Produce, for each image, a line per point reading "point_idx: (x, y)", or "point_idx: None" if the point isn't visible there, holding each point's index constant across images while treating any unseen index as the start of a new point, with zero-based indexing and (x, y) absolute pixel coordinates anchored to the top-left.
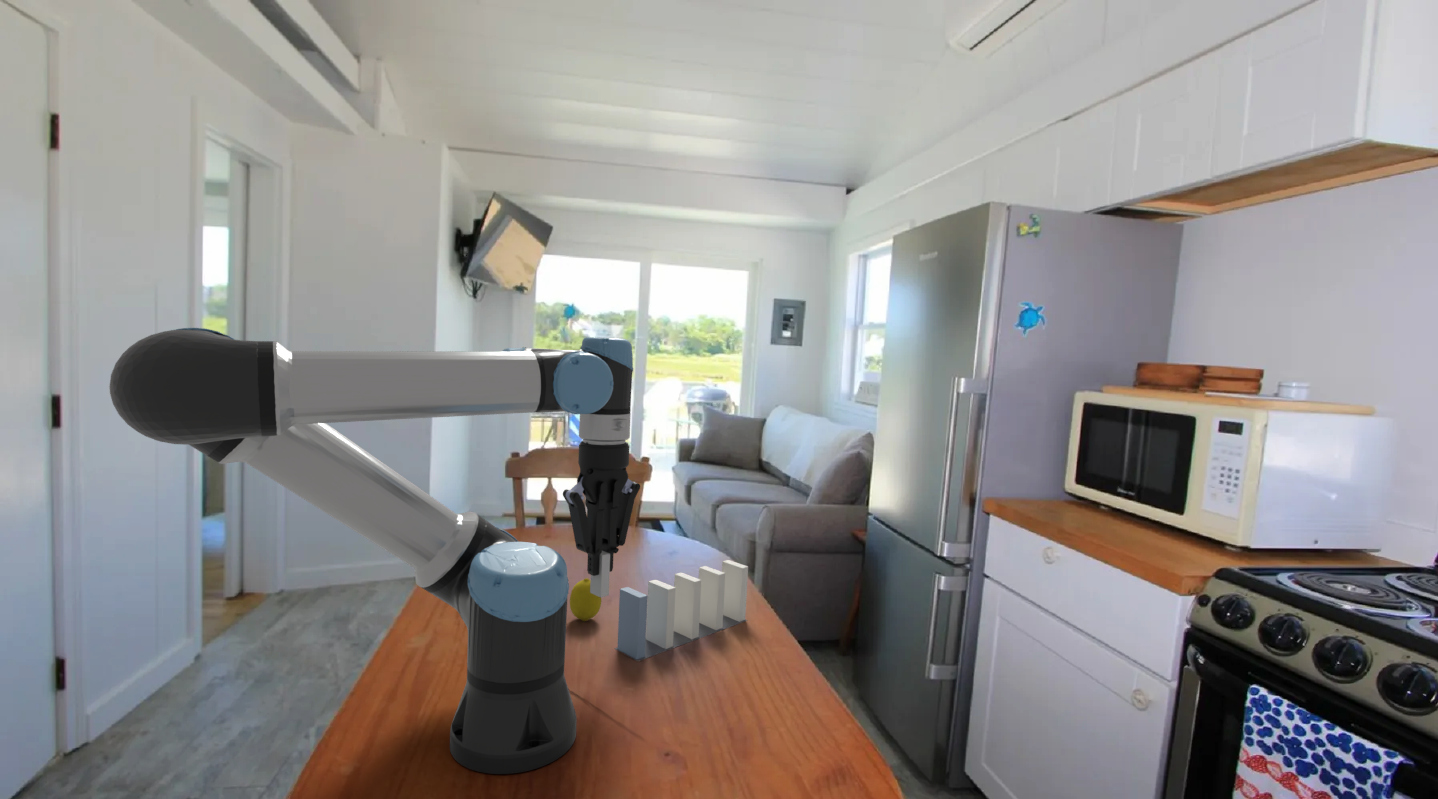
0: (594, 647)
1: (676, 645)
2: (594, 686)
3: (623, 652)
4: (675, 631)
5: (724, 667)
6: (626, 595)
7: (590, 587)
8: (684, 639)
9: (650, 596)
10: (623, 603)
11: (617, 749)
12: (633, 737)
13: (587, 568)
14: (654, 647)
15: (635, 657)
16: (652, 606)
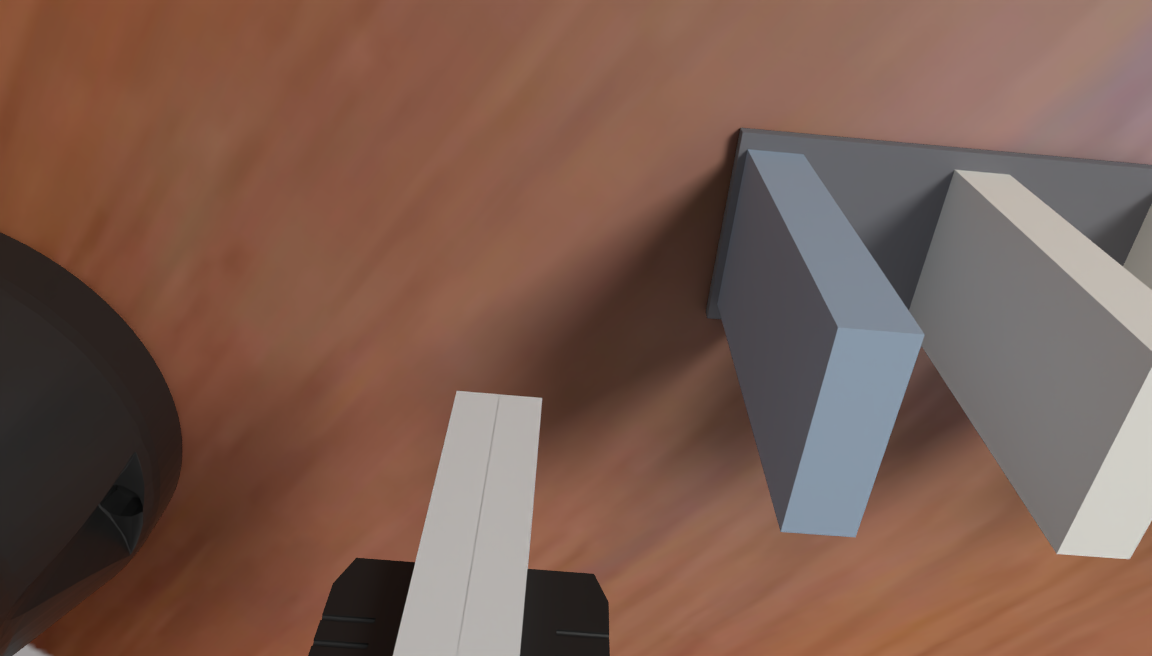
0: (699, 6)
1: None
2: (410, 328)
3: (734, 204)
4: (1146, 216)
5: (914, 552)
6: (808, 388)
7: (449, 421)
8: None
9: (1079, 321)
10: (800, 320)
11: (235, 625)
12: (311, 617)
13: (328, 602)
14: (889, 271)
15: (720, 296)
16: (1033, 314)
